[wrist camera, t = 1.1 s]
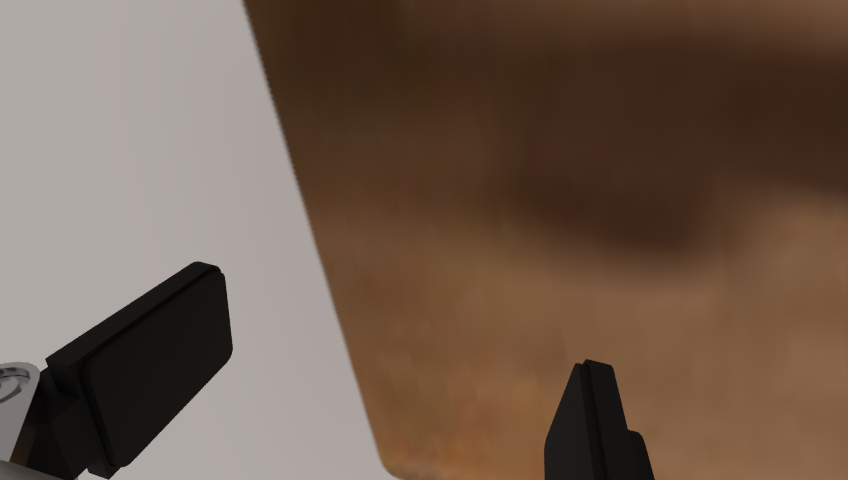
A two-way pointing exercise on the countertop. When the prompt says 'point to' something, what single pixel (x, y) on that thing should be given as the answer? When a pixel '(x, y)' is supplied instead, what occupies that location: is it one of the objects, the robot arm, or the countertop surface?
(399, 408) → the countertop surface
